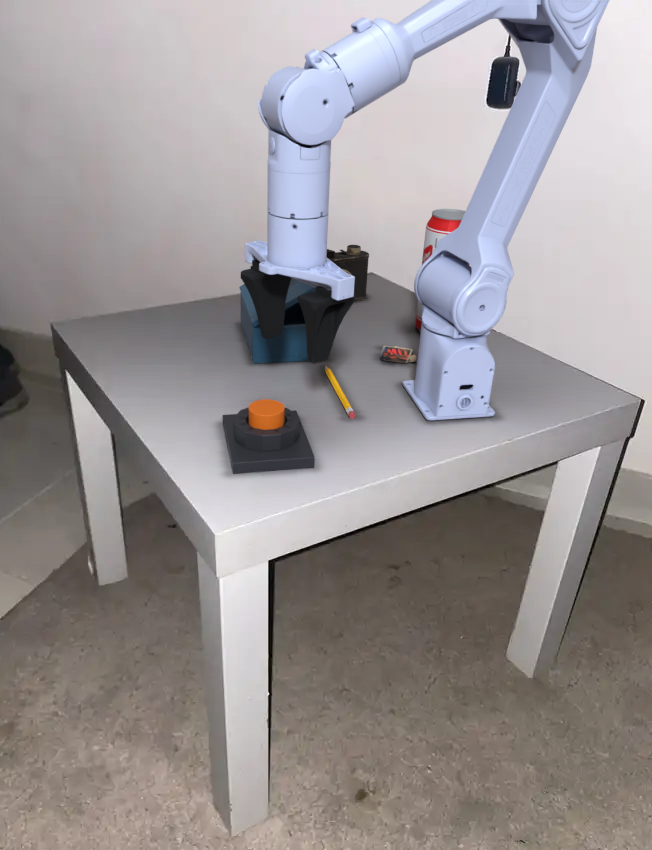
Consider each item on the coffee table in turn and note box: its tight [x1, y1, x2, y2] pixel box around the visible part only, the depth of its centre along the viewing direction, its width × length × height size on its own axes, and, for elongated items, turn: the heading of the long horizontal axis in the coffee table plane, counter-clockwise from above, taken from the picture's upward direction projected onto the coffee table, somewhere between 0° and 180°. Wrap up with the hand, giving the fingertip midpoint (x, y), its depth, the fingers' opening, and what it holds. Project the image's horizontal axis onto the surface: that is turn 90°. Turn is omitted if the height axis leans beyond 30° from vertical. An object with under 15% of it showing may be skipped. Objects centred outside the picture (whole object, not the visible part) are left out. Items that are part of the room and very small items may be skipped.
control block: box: [222, 406, 316, 475], centre depth 78 cm, size 10×8×3 cm
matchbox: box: [379, 345, 418, 364], centre depth 99 cm, size 5×5×1 cm
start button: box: [248, 398, 286, 430], centre depth 77 cm, size 4×4×2 cm
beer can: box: [415, 208, 471, 333], centre depth 103 cm, size 6×6×16 cm
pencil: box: [324, 365, 357, 419], centre depth 90 cm, size 1×13×1 cm, turn 12°
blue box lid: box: [239, 278, 315, 327], centre depth 98 cm, size 10×13×5 cm
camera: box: [326, 244, 370, 302], centre depth 113 cm, size 16×7×8 cm, turn 117°
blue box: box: [239, 291, 309, 364], centre depth 101 cm, size 9×13×5 cm
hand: (294, 347), depth 79 cm, fingers open, 7 cm apart
